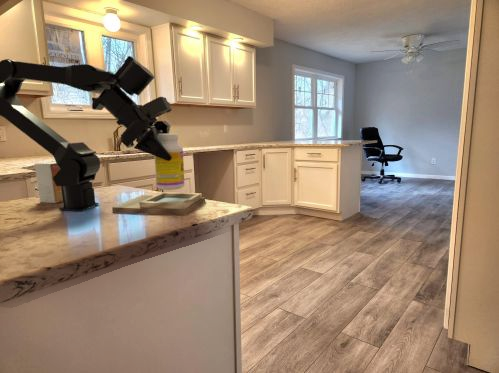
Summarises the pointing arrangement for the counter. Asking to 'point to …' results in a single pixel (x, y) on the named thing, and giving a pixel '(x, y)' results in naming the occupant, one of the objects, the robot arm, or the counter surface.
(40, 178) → the small box
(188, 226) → the counter surface
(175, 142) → the supplement bottle
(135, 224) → the counter surface
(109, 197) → the counter surface
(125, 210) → the brown shallow tray
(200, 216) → the counter surface
